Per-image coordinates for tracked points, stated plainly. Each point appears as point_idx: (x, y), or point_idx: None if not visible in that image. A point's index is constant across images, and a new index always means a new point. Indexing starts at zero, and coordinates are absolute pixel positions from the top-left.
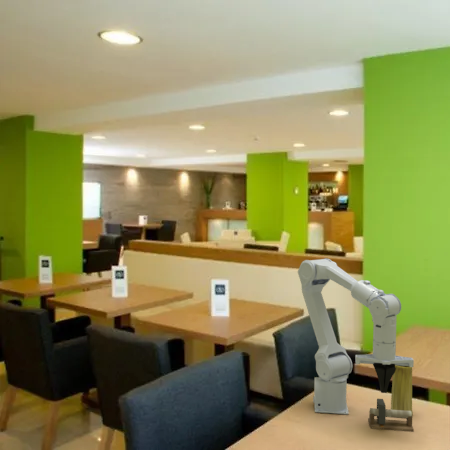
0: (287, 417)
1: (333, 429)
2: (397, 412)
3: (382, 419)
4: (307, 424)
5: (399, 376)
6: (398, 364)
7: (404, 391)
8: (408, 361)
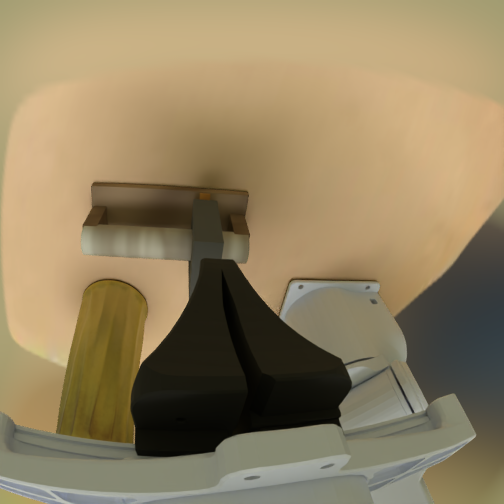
0: (448, 247)
1: (374, 181)
2: (137, 238)
3: (205, 208)
4: (426, 212)
5: (107, 407)
6: (100, 449)
7: (93, 351)
8: (2, 461)
